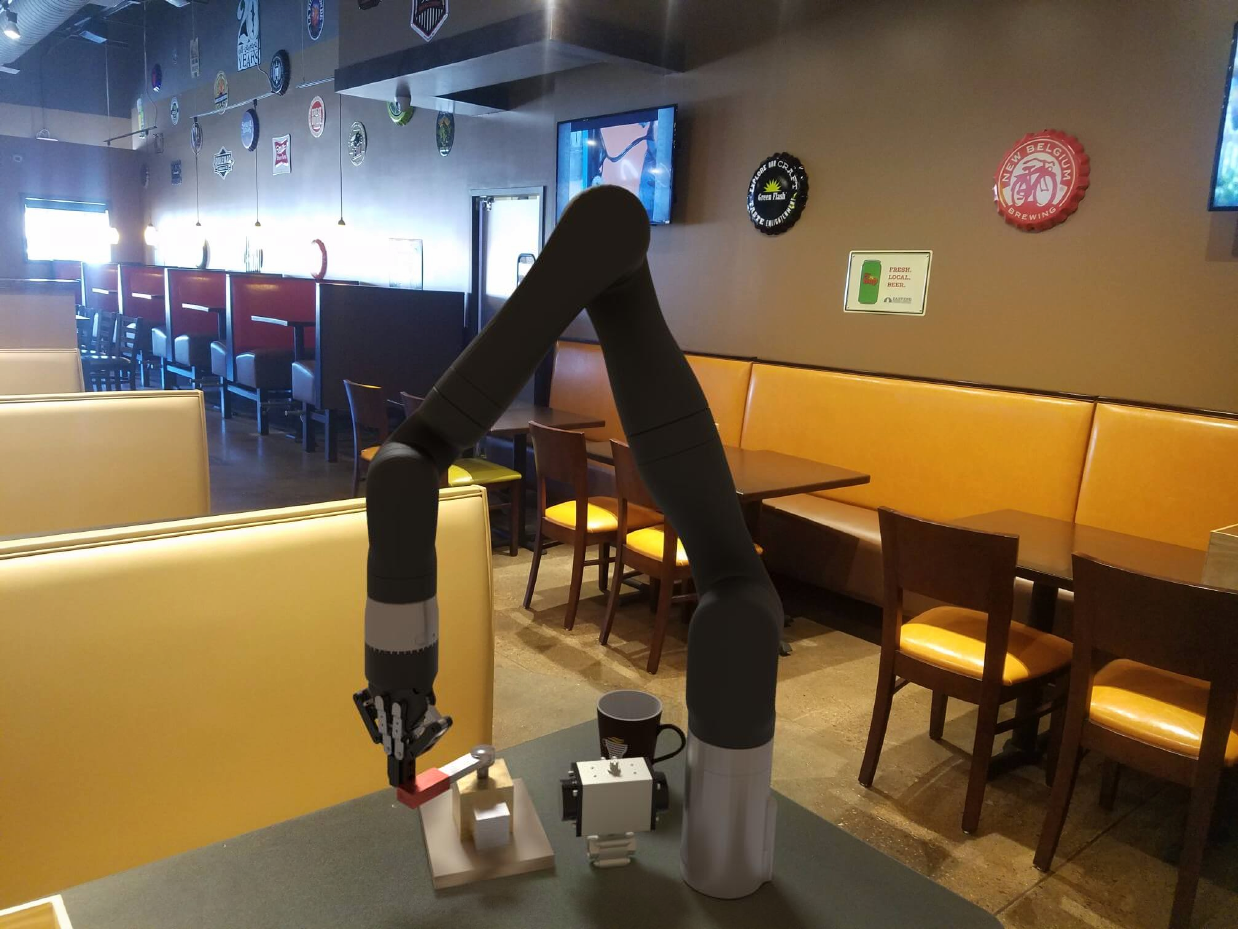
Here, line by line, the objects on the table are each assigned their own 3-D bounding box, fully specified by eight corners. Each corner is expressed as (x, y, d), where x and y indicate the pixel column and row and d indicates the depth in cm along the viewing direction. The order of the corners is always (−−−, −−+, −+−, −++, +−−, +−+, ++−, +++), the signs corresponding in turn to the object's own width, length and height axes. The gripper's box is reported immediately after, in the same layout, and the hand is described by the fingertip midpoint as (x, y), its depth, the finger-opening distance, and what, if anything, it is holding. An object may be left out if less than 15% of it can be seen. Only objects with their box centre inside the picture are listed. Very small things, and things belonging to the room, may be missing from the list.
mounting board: (521, 788, 110) (521, 778, 110) (554, 867, 96) (554, 854, 95) (417, 805, 106) (417, 793, 106) (434, 889, 91) (434, 876, 91)
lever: (483, 753, 101) (483, 741, 101) (500, 762, 99) (500, 749, 99) (396, 799, 91) (396, 786, 91) (413, 810, 90) (413, 796, 89)
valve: (496, 788, 108) (497, 733, 106) (520, 852, 96) (520, 791, 94) (448, 796, 106) (447, 740, 104) (465, 862, 94) (465, 800, 92)
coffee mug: (581, 770, 115) (583, 700, 113) (632, 751, 120) (634, 684, 118) (635, 812, 106) (638, 737, 104) (688, 790, 111) (692, 718, 109)
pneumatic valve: (666, 867, 96) (671, 768, 94) (561, 878, 94) (564, 777, 92) (654, 837, 102) (658, 742, 99) (555, 846, 99) (557, 750, 97)
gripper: (474, 638, 90) (471, 789, 93) (384, 608, 97) (384, 750, 100) (422, 662, 84) (420, 823, 87) (329, 628, 90) (331, 779, 94)
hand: (401, 784), depth 94 cm, fingers closed
